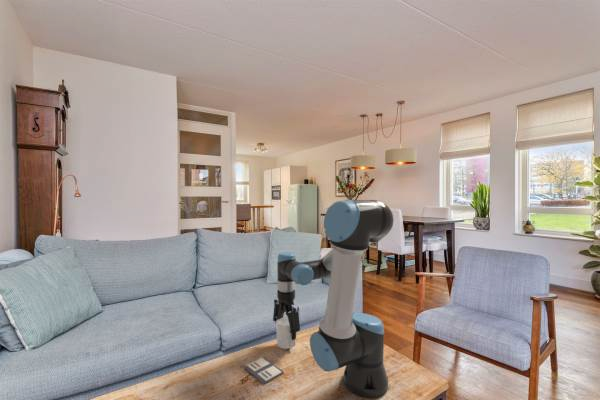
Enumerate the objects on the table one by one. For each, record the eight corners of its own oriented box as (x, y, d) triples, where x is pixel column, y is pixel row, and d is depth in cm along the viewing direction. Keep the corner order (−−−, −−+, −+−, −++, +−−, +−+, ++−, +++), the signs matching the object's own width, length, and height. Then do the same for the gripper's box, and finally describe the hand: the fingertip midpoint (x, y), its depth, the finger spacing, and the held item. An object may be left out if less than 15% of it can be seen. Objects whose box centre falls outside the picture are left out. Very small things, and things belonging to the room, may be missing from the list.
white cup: (295, 340, 125) (295, 317, 125) (293, 350, 117) (293, 326, 117) (277, 339, 126) (277, 316, 125) (274, 349, 118) (274, 325, 118)
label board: (283, 373, 104) (283, 370, 104) (263, 384, 98) (263, 381, 98) (264, 359, 113) (264, 356, 113) (244, 368, 107) (244, 365, 107)
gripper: (309, 293, 116) (309, 349, 117) (278, 281, 131) (277, 330, 132) (295, 298, 111) (295, 356, 112) (264, 285, 126) (264, 336, 127)
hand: (285, 342), depth 122 cm, fingers open, 8 cm apart
